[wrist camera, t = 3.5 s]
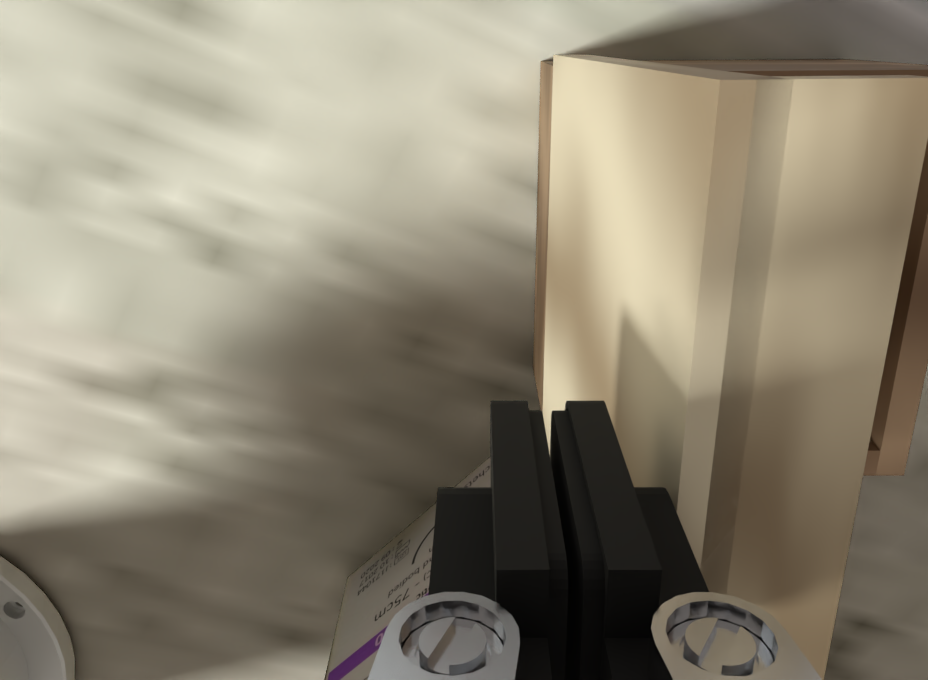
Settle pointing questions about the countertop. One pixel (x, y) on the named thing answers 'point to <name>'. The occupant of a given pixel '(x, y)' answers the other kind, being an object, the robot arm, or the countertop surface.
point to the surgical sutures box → (386, 591)
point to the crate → (921, 286)
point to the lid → (734, 301)
